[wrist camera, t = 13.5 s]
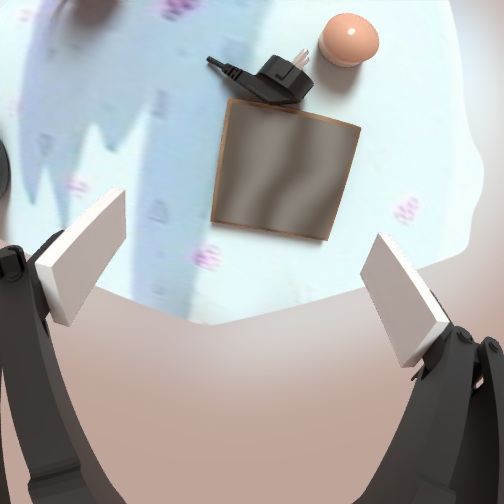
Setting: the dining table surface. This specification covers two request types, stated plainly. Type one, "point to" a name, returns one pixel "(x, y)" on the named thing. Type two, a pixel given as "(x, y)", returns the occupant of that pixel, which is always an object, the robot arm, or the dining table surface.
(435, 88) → the dining table surface
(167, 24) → the dining table surface
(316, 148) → the stand
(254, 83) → the power plug
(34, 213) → the dining table surface
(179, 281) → the dining table surface
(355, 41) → the peach rounded cylinder
